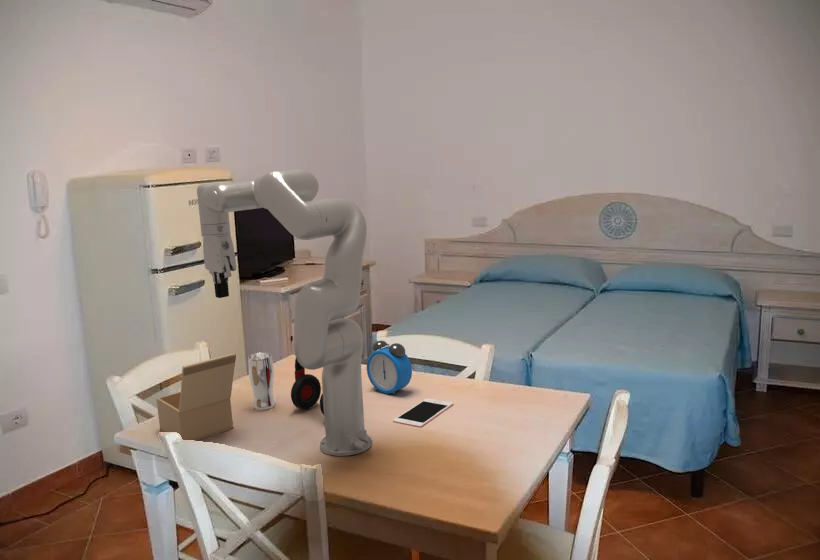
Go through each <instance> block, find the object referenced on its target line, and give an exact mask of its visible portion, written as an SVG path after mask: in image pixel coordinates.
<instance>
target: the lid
mask: <svg viewBox="0 0 820 560" xmlns="http://www.w3.org/2000/svg"><path fill="white" fill-rule="evenodd" d="M236 360H237V354H236V352H232V353H229V354H226V355H225V354H224V355H221V356H217V357H213V358H210V359H205V360H201V361H198V362H194V363H190V364H185V365H182V369H181V381H180V392H181V393H180V405H179V412H180V413H181V412H184V411H187V410H191V409H194V408H197V407H201V406H204V405H208V404H211V403H214V402H218V401H221V400H224V399H228V398H230V399H231V398H232V390H233V383H234V374H235V367H236Z"/></svg>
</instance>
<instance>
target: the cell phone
mask: <svg viewBox="0 0 820 560" xmlns="http://www.w3.org/2000/svg"><path fill="white" fill-rule="evenodd" d="M452 406H454V402H452V401H446V400H440V399H435V398H428V397H427V398H424V399H423V400H422V401H420V402H418V403H416V404H415V405H414V406H413V407H411V408H409V409H408V410H405V412H403V413H402V414H400V415H398V416H396V417H395V418H393V419H392V422H393V423H395V424H399V425H405V426H409V427H415V428H423V427H424V426H426V425H427V424H429V423H431V422H432V421H433V420H434V419H435V418H437V417H439V416H440V415H442V414H443V413H444V412H445V411H447V410H448V409H450V408H451V407H452Z"/></svg>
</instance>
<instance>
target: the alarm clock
mask: <svg viewBox="0 0 820 560" xmlns="http://www.w3.org/2000/svg"><path fill="white" fill-rule="evenodd" d="M371 351H372V352H371V354H370V355H369V356H368V358H367V361H366V373H367V377H368V379H369V382H370V384H371V385H372V386H373V387H374V388H375V389H376V392H381V393H382V394H383V393H384V394H393V396H396V393H395V392H397V391H399V390H401V389H404V388H405V387H407V386H408V385H409V383H410V382H411V379H412V376H413V375H412V374H413V368H412V364H411V361H410V358H409V356H408V355H407V354H406V348H405V347H404V346H403V345H402V344H401V343H397V342H395V343H392V344H390V343H387V342H386V341H385V340H376V341H375V342H374V343H373V344H372V345H371Z"/></svg>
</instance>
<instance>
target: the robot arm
mask: <svg viewBox="0 0 820 560" xmlns="http://www.w3.org/2000/svg"><path fill="white" fill-rule="evenodd" d="M319 186H320V185H319V181H318V178H317V177H316V176H315V175H314V174H313V172H310V171H308V170H307V169H302V168H293V169H281V170H272V171H268V172H267V173H264V174H261V175H259V176H258V177H257V178H255V179H254V180H253V179H252V180H242V181H241V180H240V181H230V182H222V183H221V182H211V183H201V184H199V185H198V186H197V188H196V193H197V194H196V195H197V204H198V214H199V222H200V223H199V224H200V234H201V237H202V248H203V249H202V251H203V253H202V254H203V263H204V267H205V269H206V270H207V271H208V273H209V274H210V275H211V276H212V282H213V283H214V284H213V285H214V286H213V287H214V294H215V297H216V298H218V299H222V298H228V297H229V296H230V294H229V293H230V292H229V291H230V290H229V278H231V277H232V272H235V271H236V270H237V260H236V255H235V253H236V252H235V247H234V243H233V237H232V235H231V234H232V233H231V225H230V216H229V213H232V212H239V211H247V210H248V211H249V210H254V209H255V210H256V209H262V208H263V209H266V210H268V211H269V213H271V215H272V216H273V217H274V218H275V219H276V220H277V221H278V222H279V223H280V224H281V225H282V226H283V227H284V228H285V229H286V230H287V231H288V232H289V233H290V235H292V236H293V237H295V238H297V239H298V240H300V241H301V240H303V241H310V240H311V241H312V240H316V239H321V238H326V237H330V236H333V240H332V242H331V243H330V245H329V247H328V250H327V252H326V256H325V260H324V274H323V277H322V278H321V279H320V280H315V281H312V282H310V283H309V282H308V284H306V285H304V286H303V287H302V288H301V289H300V290H299V292H298V293H297V296H296V299H295V305H294V322H293V323H294V324H293V327H294V328H293V351H294V352H293V353H294V356H295V359H296V358H297V360H298V362H299V363H300V365H301V366H303V367H304V368H305V369H307V370H309V371H310V370H318V369H322V371H321V372H322V373H321V394H322V393H323V406H324V415H323V417H324V430H325V436H324V437H323V438H322V439H321V440H320V442H319V447H320V450H321V451H322V452H323V453H325V454H327V455H330V456H335V457H345V456H353V455H357V454H358V455H359V454H360V453H363V452H366V451H367V450H368V449H369V448H371V446H372V444H373V440H372V439H373V438H372V437H371V436H370V434H369V433H368V432H367V429H366V428H365V414H364V399H363V398H364V397H363V380H362V377H363V376H362V355H363V349H364V334H363V330H362V328H361V327H360V325H359V324H358V322H356V321H355V320H353V319H351V318H348V317H346V316H348V315H351V314H353V313H354V312H356V311H357V309H358V308H359V306H360V300H361V287H362V277H363V276H362V275H363V259H364V258H363V257H364V251H365V246H366V241H367V222H366V219H365V216H364V214H363V212H362V210H361V208H360V207H359V206H358V205H357V204H356V203H355V202H353V201H352V200H349V199H346V198H342V197H330V198H323V199H315V198H316V197H317V195H318V193H319V190H320V189H319V188H320V187H319ZM314 199H315V200H314Z"/></svg>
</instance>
